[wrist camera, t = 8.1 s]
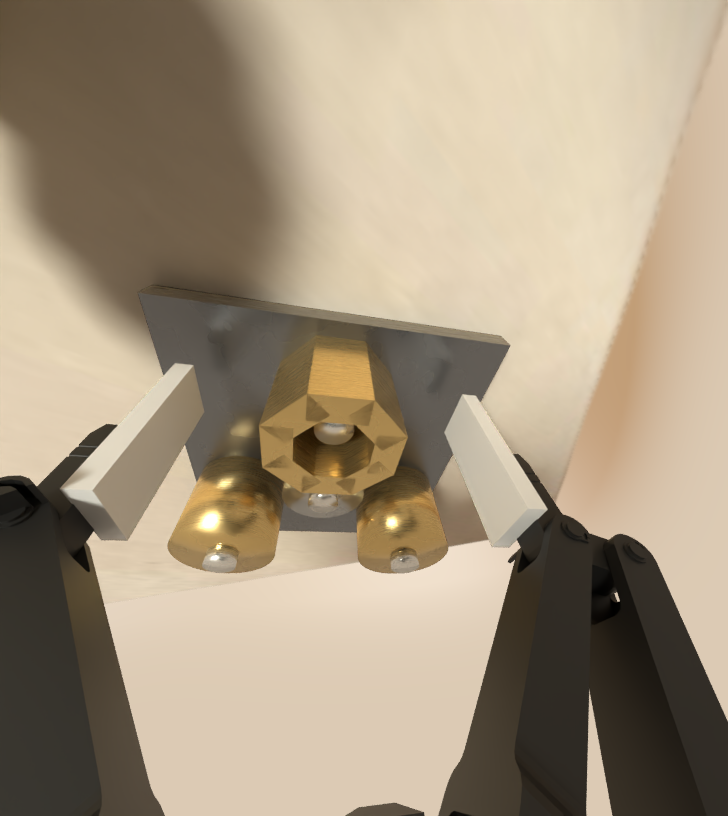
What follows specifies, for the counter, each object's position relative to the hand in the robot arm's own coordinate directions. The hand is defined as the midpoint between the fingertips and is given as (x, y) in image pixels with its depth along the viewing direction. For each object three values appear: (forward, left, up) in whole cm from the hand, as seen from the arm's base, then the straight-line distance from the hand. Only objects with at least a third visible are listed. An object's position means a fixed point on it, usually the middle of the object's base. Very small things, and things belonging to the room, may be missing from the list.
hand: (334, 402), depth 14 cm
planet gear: (0, 0, -2) cm, 2 cm away
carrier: (+6, 0, -3) cm, 7 cm away
